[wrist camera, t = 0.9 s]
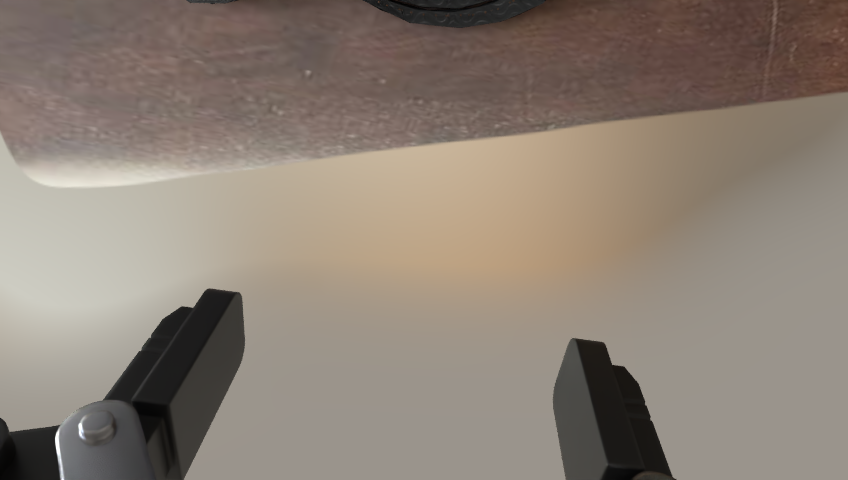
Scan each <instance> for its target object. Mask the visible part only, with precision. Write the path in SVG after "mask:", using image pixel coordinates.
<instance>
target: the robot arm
mask: <svg viewBox="0 0 848 480" xmlns="http://www.w3.org/2000/svg"><path fill="white" fill-rule="evenodd" d="M244 346H245V335H244V321H243V305H242V296H241V294H240V293H239V292H232V291H225V290H216V289H207V290H206V291H205V292H204V293H203V295H202V296H201V298H200V299H199V300H198V302H197V303H196V305H195V306H194V308H190V307H180V308H179V309H177V310H176V311H174V312H173V313H171V314H170V315H168V316H167V317H165V318H164V319H163V320H162V321H161V322H160V324H159V325H158V326H157V328H156V329H155V330H154V332H153V333H152V335H151V338H149V339H148V340H147V341H146V343H145V344H144V345H143V347H142V350H141V351H139V352H138V354H137V355H136V356H135V358H134V359H133V360H132V362H131V363H130V364H129V366H128V367H127V369H126V370H125V371H124V372H123V374H122V375H121V377H120V378H119V379H118V381H117V382H116V383H115V385H114V386H113V387H112V389H111V390H110V391H109V393H108V394H107V395H106V397H105V398H104V399H103V401H98V402H94V403H91V404H88V405H86V406H84V407H82V408H79V409H78V410H76V411H75V412H73V413H72V414H71V415H69V416H68V417H67V418H66V419H65V420H64V421H63V422H62V424H61V425H58V426H52V427H45V428H37V429H30V430H23V431H15V432H9V430H8V427H7V425H6V422H5V421H4V420H3V419H1V418H0V480H184V478H185V476H186V473H187V472H188V470H189V468H190V466H191V463H192V461H193V459H194V457H195V455H196V453H197V451H198V449H199V447H200V445H201V443H202V441H203V439H204V437H205V435H206V433H207V431H208V429H209V427H210V425H211V423H212V421H213V419H214V417H215V415H216V413H217V411H218V409H219V407H220V405H221V403H222V401H223V399H224V397H225V395H226V393H227V391H228V389H229V386H230V385H231V383H232V380H233V378H234V377H235V374H236V372H237V370H238V368H239V366H240V364H241V361H242V357H243V353H244ZM553 409H554V415H555V420H556V426H557V432H558V437H559V443H560V449H561V454H562V460H563V466H564V472H565V477H566V480H676V479H674V478H673V477H672V474H671V472H670V469H669V466H668V463H667V461H666V458H665V455H664V452H663V450H662V447H661V444H660V441H659V439H658V436H657V433H656V430H655V428H654V425H653V422H652V421H651V420H650V414H649V411H648V409H647V406H646V405H645V400H644V397H643V395H642V392H641V389H640V386H639V384H638V383H637V381H635V379H634V378H633V377H632V375H631V374H630V373H629V372H628V371H627V370H626V368H625V367H623V366H615V365H612V363H611V360H610V357H609V354H608V351H607V348H606V345H605V344H604V343H603V342H598V341H590V340H583V339H575V338H572V339H571V340H570V342H569V344H568V346H567V350H566V353H565V355H564V359H563V362H562V365H561V368H560V371H559V374H558V377H557V380H556V383H555V387H554V394H553Z"/></svg>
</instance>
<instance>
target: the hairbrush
mask: <svg viewBox="0 0 848 480" xmlns="http://www.w3.org/2000/svg"><path fill="white" fill-rule="evenodd" d="M187 1H188V2H190V3H210V4H215V3H228V2H232V1H237V0H187ZM363 1H365V2H367V3H370V4H371V5H373V6H375V7H377V8H378V9H380V10H382V11H385V12H388V13H391V14H393V15H395V16H397V17H399V18H401V19H403V20H405V21H407V22H409V23H418V24H426V25H435V26H445V27H456V28H463V27H470V26H476V25H483V24H489V23H496V22H501V21H504V20H506V19H509V18H511V17H514V16H516V15H519V14H521V13H523V12H525V11H528V10H530V9H532V8H534V7H536V6H538V5H540V4H543V3H544V2H545V1H546V0H493V1H491V2H488V3H486V4H483V5H481V6H478V7H476V8H463V9H444V10H427V9H423V8H419V7H415V6H411V5H408V4H404V3H400V2H396V1H392V0H363ZM401 1H404V2H407V3H411V4H414V5H417V6H422V7H436V8H440V7H441V8H462V7H467V6H471V5H475V4H478V3H482V2H485V1H489V0H401Z"/></svg>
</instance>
